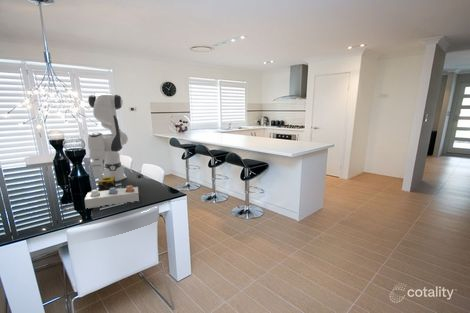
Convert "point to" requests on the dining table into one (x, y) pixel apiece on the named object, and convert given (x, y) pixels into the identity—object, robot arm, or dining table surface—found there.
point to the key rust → (129, 188)
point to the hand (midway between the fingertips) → (100, 180)
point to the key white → (95, 193)
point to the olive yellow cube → (106, 183)
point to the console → (111, 198)
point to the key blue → (112, 191)
